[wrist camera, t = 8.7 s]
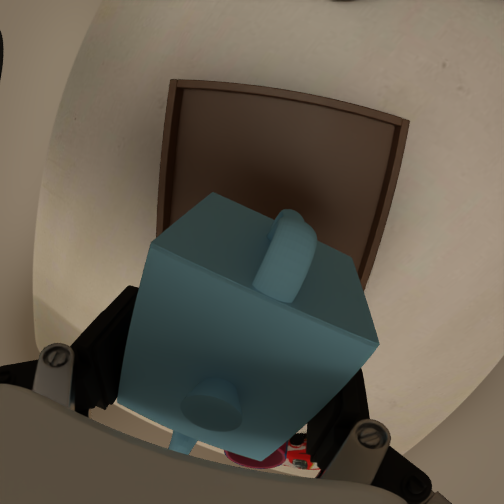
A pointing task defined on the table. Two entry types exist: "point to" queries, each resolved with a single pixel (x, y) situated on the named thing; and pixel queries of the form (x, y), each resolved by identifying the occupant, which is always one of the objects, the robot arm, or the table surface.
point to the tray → (283, 160)
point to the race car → (298, 454)
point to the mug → (270, 462)
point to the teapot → (242, 329)
